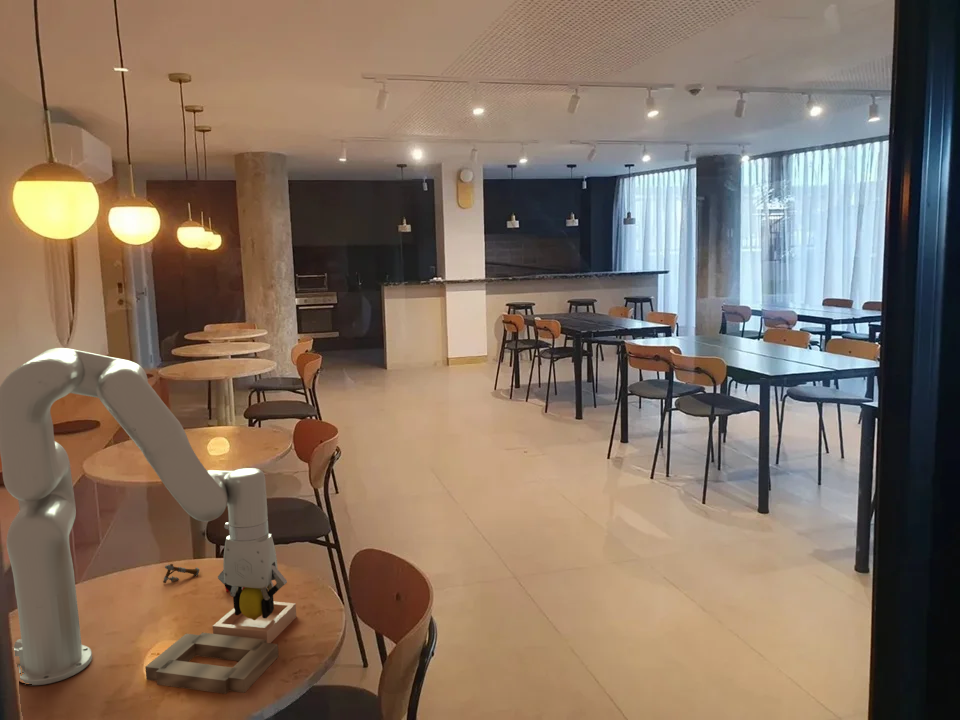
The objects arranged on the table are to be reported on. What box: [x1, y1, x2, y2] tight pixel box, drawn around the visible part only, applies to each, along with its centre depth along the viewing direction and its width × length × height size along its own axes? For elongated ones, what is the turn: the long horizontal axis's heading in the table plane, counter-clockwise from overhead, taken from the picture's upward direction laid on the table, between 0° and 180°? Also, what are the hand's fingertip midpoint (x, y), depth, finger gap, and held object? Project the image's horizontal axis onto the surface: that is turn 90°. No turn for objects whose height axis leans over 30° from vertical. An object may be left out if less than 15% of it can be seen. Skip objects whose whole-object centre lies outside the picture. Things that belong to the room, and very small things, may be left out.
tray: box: [212, 601, 297, 643], centre depth 152 cm, size 12×12×3 cm
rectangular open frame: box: [144, 632, 279, 695], centre depth 137 cm, size 20×14×2 cm
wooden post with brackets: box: [162, 563, 200, 584], centre depth 176 cm, size 2×8×4 cm, turn 129°
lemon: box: [239, 587, 264, 620], centre depth 151 cm, size 6×6×8 cm
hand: (254, 612), depth 151 cm, fingers closed on lemon, 5 cm apart
